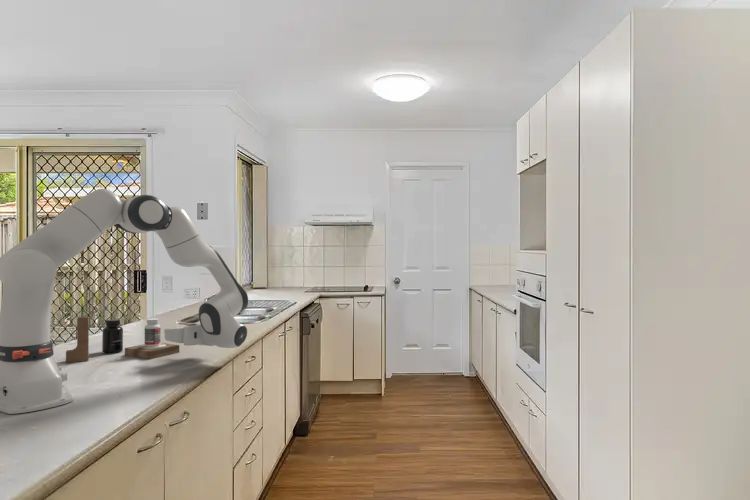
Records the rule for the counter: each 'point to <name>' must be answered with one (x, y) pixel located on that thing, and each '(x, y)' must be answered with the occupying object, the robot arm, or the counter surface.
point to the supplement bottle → (112, 337)
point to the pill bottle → (152, 333)
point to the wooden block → (80, 342)
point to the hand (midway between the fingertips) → (176, 329)
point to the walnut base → (151, 350)
